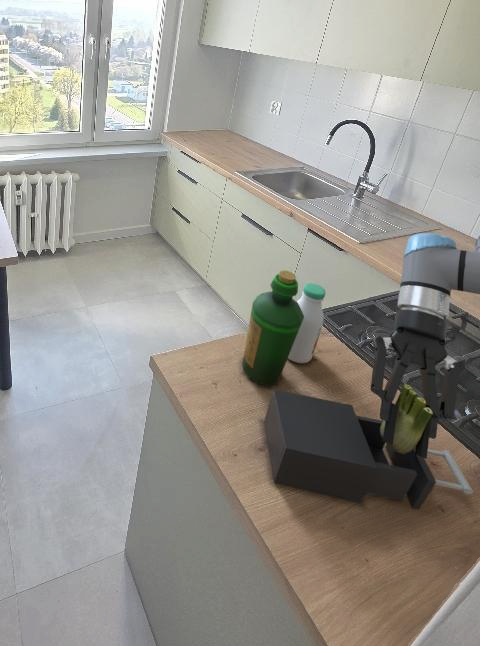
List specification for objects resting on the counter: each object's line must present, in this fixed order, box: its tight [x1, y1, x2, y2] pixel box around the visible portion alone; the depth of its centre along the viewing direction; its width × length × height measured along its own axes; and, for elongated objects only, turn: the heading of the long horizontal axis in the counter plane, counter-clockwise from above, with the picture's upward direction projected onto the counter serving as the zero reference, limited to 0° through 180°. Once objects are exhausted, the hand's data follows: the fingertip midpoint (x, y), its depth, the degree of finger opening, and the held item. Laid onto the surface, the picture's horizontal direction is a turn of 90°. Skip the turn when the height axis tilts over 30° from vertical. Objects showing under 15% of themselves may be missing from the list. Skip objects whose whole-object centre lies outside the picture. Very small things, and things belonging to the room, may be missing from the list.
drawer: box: [356, 414, 474, 511], centre depth 76 cm, size 21×11×8 cm, turn 78°
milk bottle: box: [287, 282, 326, 364], centre depth 102 cm, size 8×8×20 cm
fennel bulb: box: [380, 383, 433, 454], centre depth 72 cm, size 6×5×12 cm
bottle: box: [242, 270, 304, 386], centre depth 94 cm, size 11×11×28 cm
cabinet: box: [263, 389, 377, 504], centre depth 79 cm, size 15×13×10 cm
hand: (403, 449), depth 70 cm, fingers closed on fennel bulb, 4 cm apart
